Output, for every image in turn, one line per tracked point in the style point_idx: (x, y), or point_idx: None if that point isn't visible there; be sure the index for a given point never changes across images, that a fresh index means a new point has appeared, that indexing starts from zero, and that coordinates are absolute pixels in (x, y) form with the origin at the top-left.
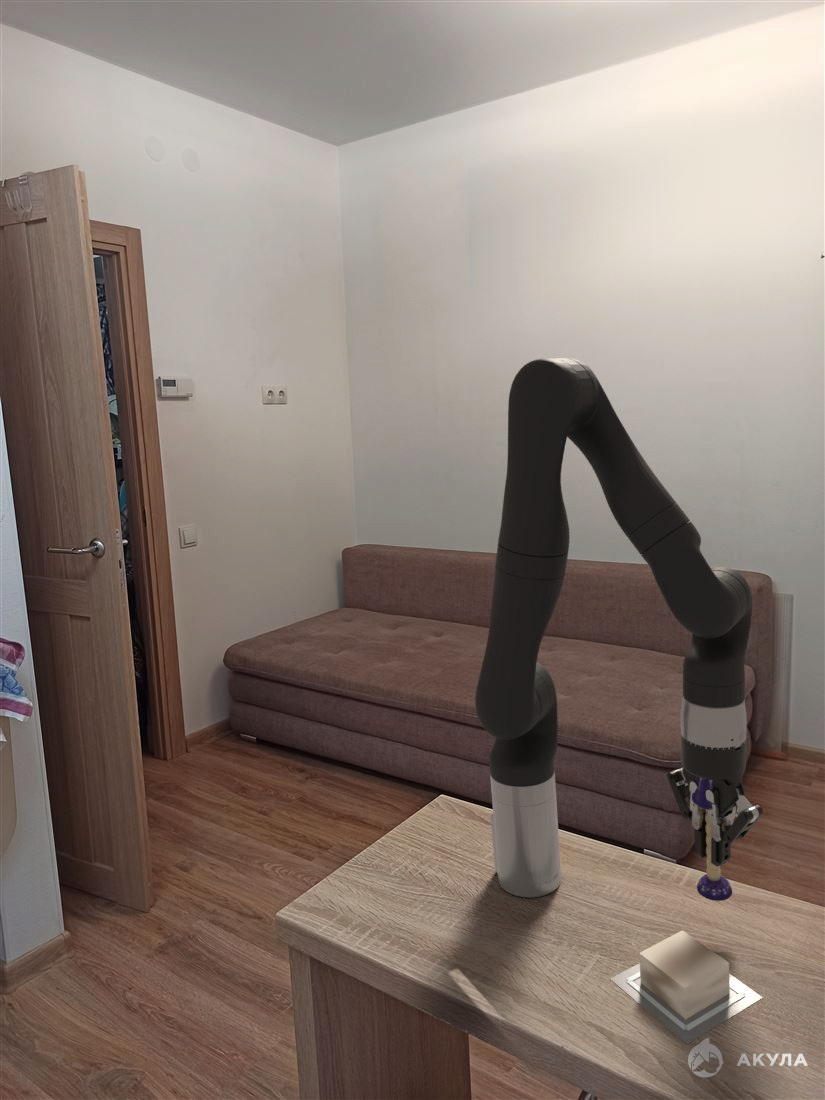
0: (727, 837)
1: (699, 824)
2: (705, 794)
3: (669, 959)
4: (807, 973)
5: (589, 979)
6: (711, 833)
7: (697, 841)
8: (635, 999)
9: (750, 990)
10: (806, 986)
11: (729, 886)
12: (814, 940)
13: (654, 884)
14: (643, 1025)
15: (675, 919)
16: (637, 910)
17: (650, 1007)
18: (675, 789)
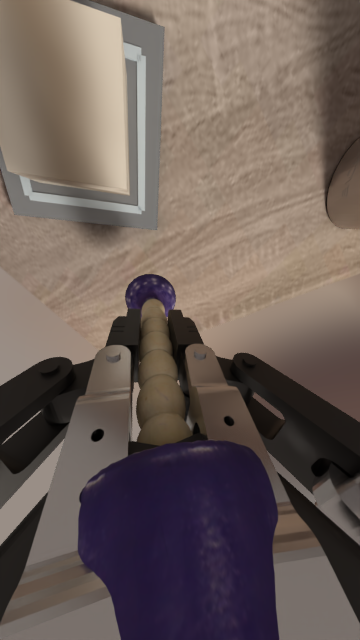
0: (42, 372)
1: (186, 359)
2: None
3: (67, 64)
4: (50, 301)
5: (196, 22)
6: (148, 358)
7: (183, 325)
8: (97, 7)
9: (33, 213)
10: (32, 284)
11: None
12: (88, 341)
13: (239, 292)
14: None
15: (192, 264)
16: (231, 243)
17: None
18: (351, 433)
